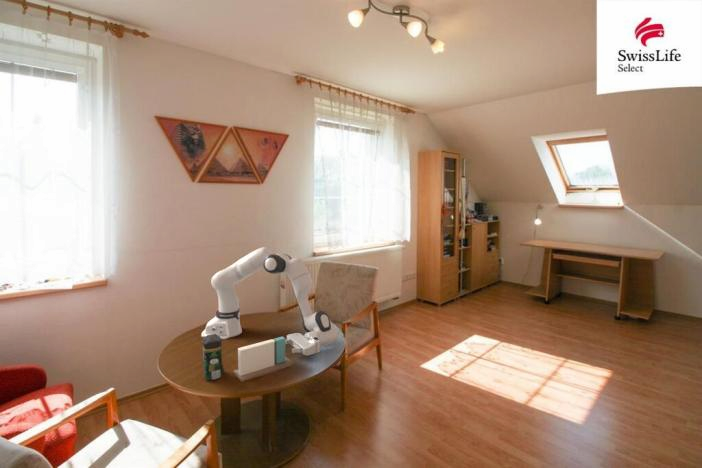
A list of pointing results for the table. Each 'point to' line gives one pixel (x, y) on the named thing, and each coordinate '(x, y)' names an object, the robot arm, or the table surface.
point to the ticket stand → (258, 360)
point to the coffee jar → (212, 357)
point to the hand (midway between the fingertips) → (286, 347)
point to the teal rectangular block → (279, 349)
